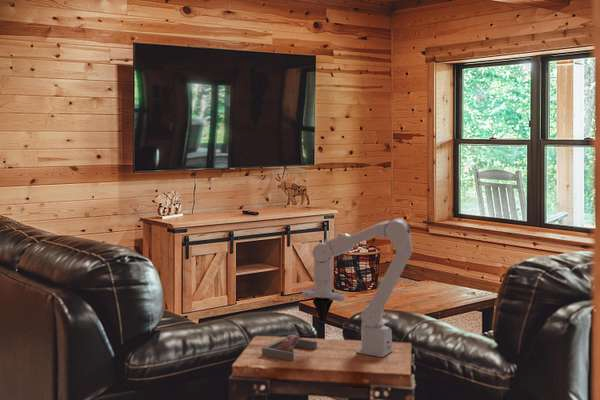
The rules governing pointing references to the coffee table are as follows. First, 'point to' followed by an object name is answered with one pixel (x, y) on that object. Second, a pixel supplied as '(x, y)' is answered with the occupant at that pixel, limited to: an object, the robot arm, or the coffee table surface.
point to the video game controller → (288, 343)
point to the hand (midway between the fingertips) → (323, 320)
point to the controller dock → (286, 355)
